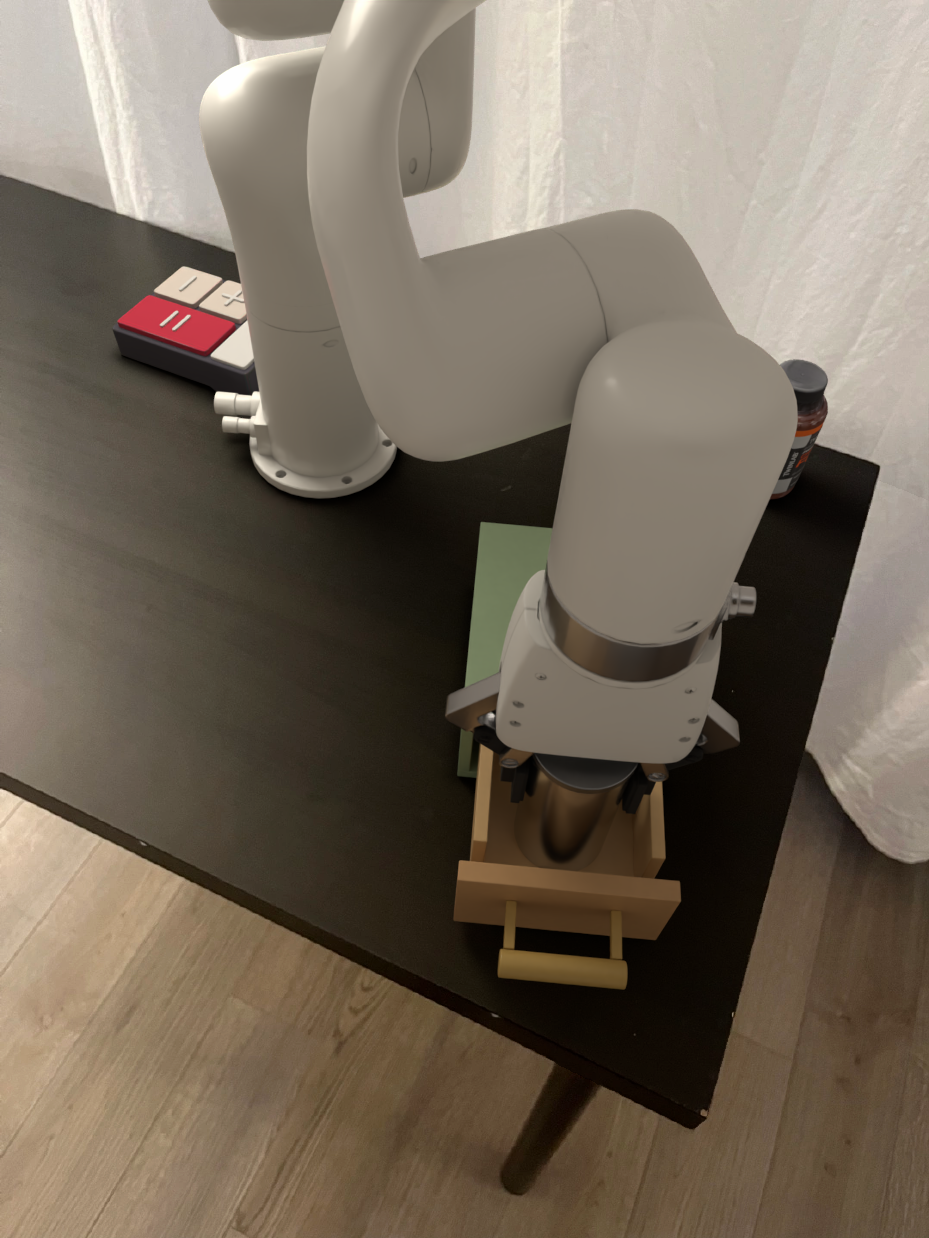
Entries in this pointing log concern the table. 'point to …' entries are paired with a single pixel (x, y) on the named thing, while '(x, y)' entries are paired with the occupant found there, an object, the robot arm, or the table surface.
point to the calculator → (193, 332)
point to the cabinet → (497, 605)
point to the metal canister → (569, 809)
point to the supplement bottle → (803, 419)
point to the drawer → (564, 887)
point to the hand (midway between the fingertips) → (572, 783)
